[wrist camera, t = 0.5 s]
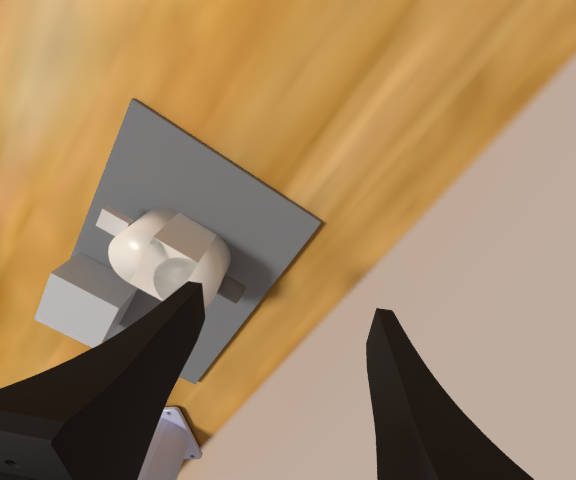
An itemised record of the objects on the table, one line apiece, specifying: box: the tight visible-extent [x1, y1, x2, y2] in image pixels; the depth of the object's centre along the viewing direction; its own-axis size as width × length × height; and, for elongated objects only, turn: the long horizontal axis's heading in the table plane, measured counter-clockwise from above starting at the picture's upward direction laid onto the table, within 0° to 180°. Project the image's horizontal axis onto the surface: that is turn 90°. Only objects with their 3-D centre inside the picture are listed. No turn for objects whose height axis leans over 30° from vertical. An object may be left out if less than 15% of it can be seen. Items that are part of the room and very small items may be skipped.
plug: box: [96, 206, 246, 308], centre depth 22 cm, size 10×4×4 cm, turn 57°
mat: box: [70, 99, 321, 384], centre depth 25 cm, size 20×14×1 cm
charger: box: [34, 252, 138, 348], centre depth 25 cm, size 5×5×3 cm
